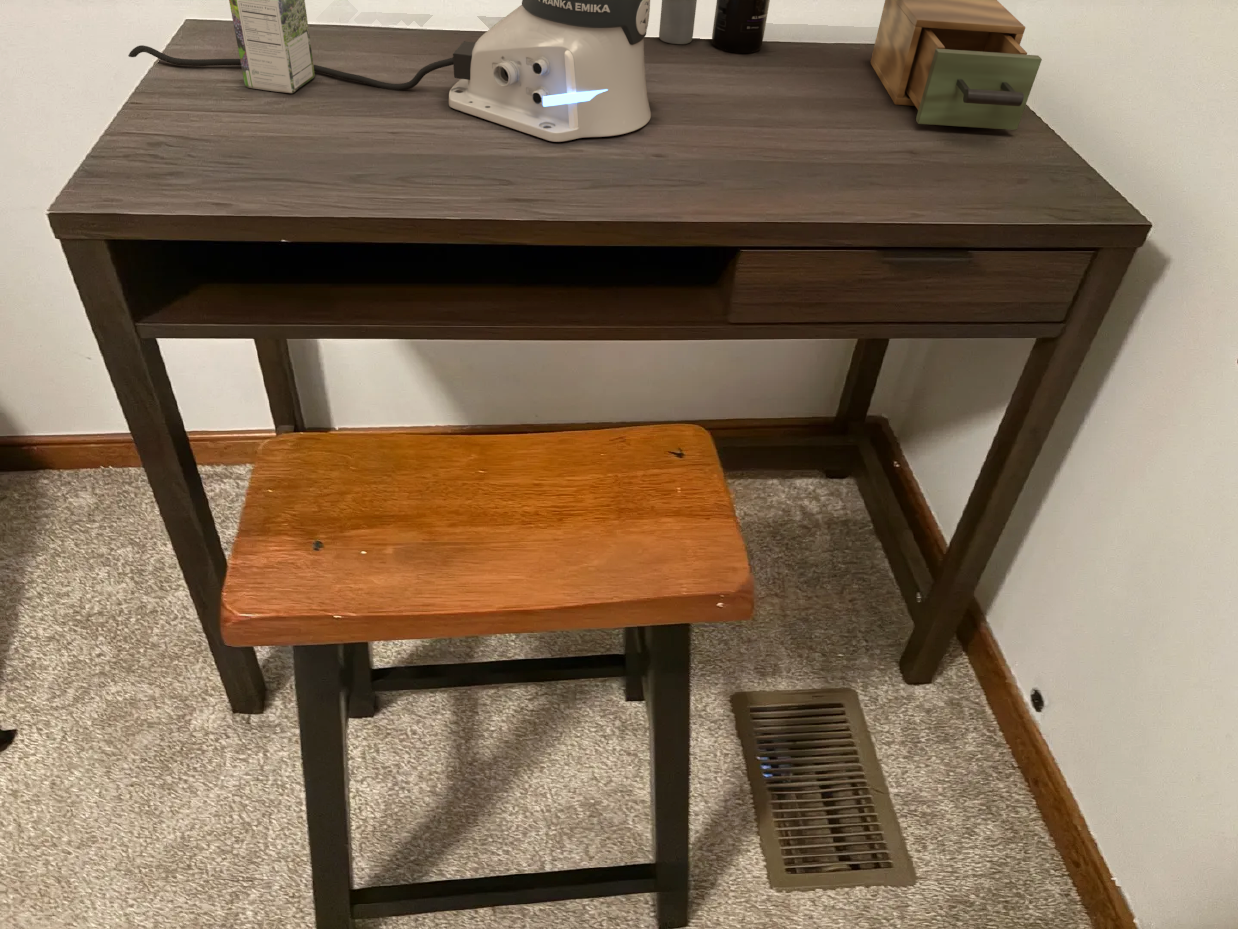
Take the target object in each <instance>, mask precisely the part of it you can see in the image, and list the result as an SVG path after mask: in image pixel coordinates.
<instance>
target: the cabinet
mask: <svg viewBox="0 0 1238 929" xmlns="http://www.w3.org/2000/svg"><path fill="white" fill-rule="evenodd" d="M922 27H923V28H938V29H952V30H967V31H982V32H996V33H1008V34H1009V35H1010V36H1011V37H1012V38H1013V39H1014V40H1015V41H1016V42H1017V43H1018V44H1019V45H1020V46H1021V42H1022V39H1023V37H1024V33H1025V30H1026V26H1025V25H1024V24H1023V23H1022V22H1021V21H1019V19H1017V17H1016V16H1014V15H1013V13H1012V12H1010V11H1009V10H1008V9H1007V8H1006V7H1005V6H1004V5H1003V4H1002V3H1001V2H1000V1H999V0H884V4H883V8H882V12H881V17H880V21H879V24H878V29H877V32H876V36H875V42H874V46H873V50H872V53H871V54H872V55H871V59H870V66H871V67H872V68H873V70H874V72H875V74H876V75H877V77H878V79H879V80H880V82H881V84H882V86H883V87H884V89H885V90H886V92H887V94H888V95H889V97H890V99H891V100H892V102H893V104H894V105H896V106H912V107H916V106H915V105H914V103H913V102H912V100H911V98H910V97H909V95H908V94H907V92H906V91H905V89H906V85H907V82H908V78H909V74H910V70H911V67H912V63H913V59H914V55H915V52H916V48H917V44H918V40H919V37H920V33H921V29H922Z"/></svg>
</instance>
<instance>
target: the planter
mask: <svg viewBox="0 0 1238 929" xmlns="http://www.w3.org/2000/svg"><path fill="white" fill-rule="evenodd" d="M697 3H698V0H661V8H660V19H659V29H658V31H659V32H658V39H660V41H662V42H664V43H667V44H671V45H687V44H690V43H692V41H693V37H694V30H695V19H696V12H697V11H696V9H697Z"/></svg>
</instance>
